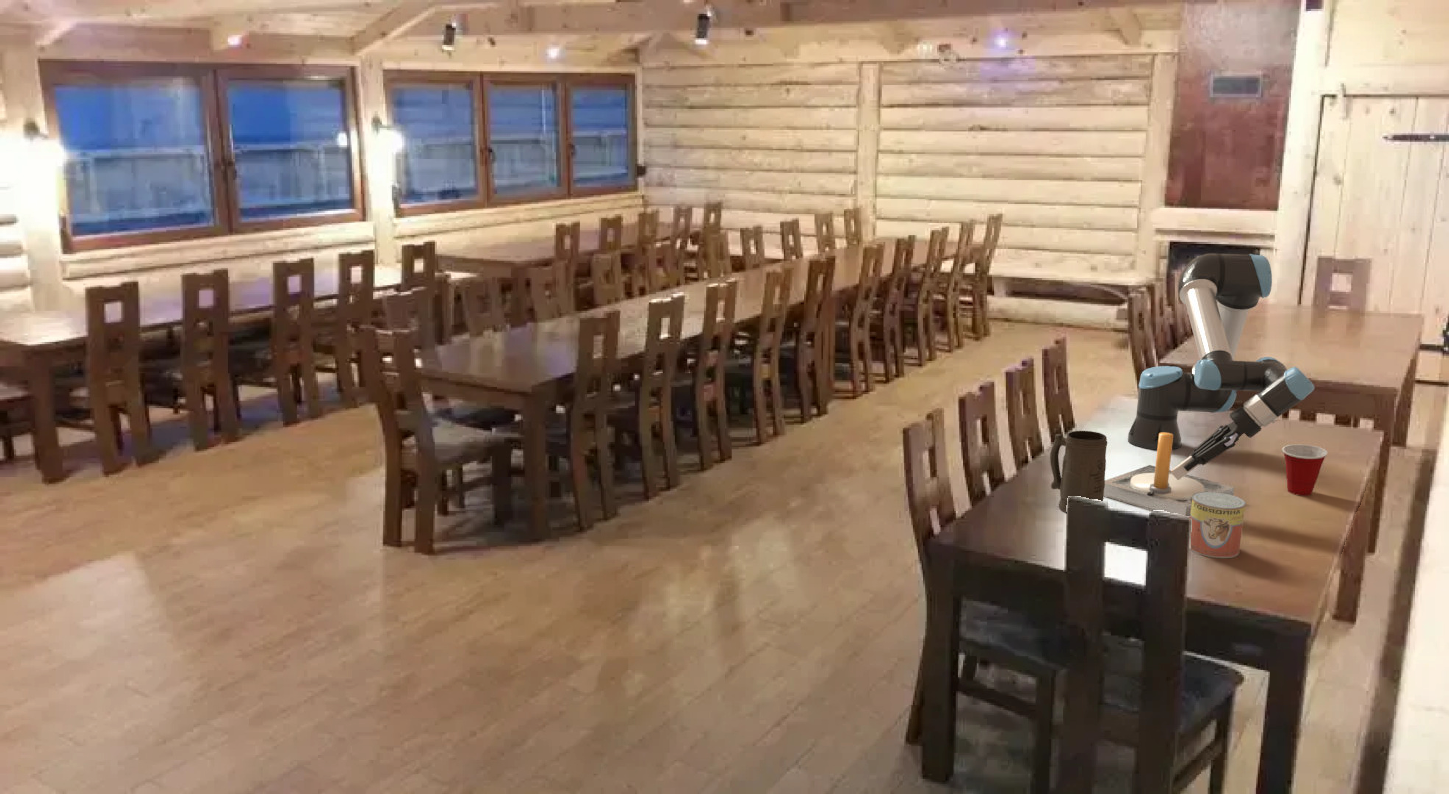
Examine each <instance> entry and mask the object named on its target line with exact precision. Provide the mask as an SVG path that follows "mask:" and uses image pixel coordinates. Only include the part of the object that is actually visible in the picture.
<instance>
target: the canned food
mask: <svg viewBox="0 0 1449 794" xmlns="http://www.w3.org/2000/svg"><path fill="white" fill-rule="evenodd" d="M1245 509H1246V501H1245V500H1244V499H1242V498H1240V496H1237V495H1234V494H1233V495H1230V494H1225V493H1219V492H1199V493H1195V494H1194V495H1192V506H1191V515H1190V518H1189V520H1190V519H1192V532H1191V550H1190V551H1191V552H1193V553H1195V554H1198V555H1201V556H1204V557H1209V558H1215V559H1230V558H1235V557H1237V556H1238V555H1239V554H1240V547H1241V541H1242V539H1241V538H1242V531H1243V522H1244V516H1245Z"/></svg>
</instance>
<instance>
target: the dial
mask: <svg viewBox="0 0 1449 794" xmlns="http://www.w3.org/2000/svg"><path fill="white" fill-rule="evenodd" d="M1172 443H1173V434H1171V433H1166V432H1161V433H1159V438H1158V448H1157V449H1156V459H1155V465H1154V466H1155V473H1143V474H1138V475H1135V476H1133V477H1132V478H1131V482H1130V486H1131V488H1133V489H1136V490H1140V491H1144V492H1147V493H1148V492H1150V491H1152V492H1154V495H1158V496H1161V497H1165V498H1168V499H1172V500H1190V499H1191V497H1192V495H1194V494H1195V493H1199V492H1204V486H1203V485H1202V484H1201V483H1200V482H1198V481H1196V480H1193V479H1191V478H1187V477H1184V476H1183V477H1182V478H1181V479H1179V480H1177V479H1176V478H1175V477H1174V476H1173V475H1172V474H1169V470H1171V468H1170V467H1171V458H1172V450H1173V449H1172Z"/></svg>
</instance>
